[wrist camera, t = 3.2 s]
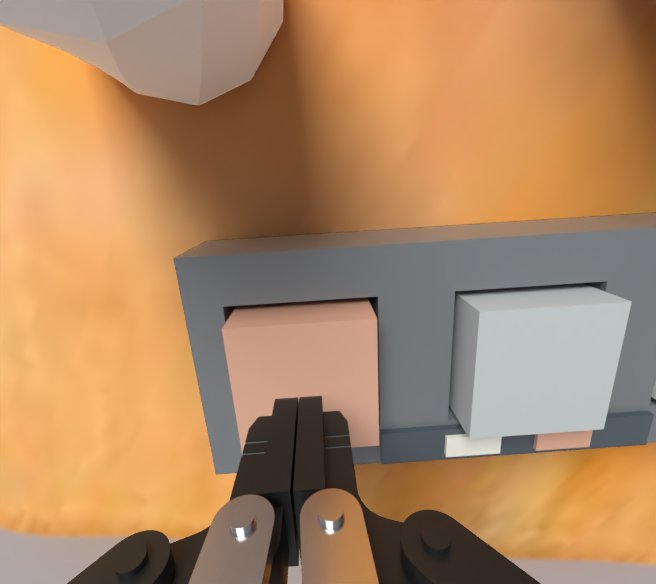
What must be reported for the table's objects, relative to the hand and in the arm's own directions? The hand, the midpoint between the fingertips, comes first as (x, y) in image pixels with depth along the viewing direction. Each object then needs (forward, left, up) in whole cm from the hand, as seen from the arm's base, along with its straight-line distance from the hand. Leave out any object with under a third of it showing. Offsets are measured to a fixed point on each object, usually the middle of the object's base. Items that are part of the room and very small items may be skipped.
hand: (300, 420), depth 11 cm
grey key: (-9, 0, -5) cm, 10 cm away
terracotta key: (0, 0, -5) cm, 5 cm away
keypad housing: (-9, 0, -7) cm, 12 cm away
